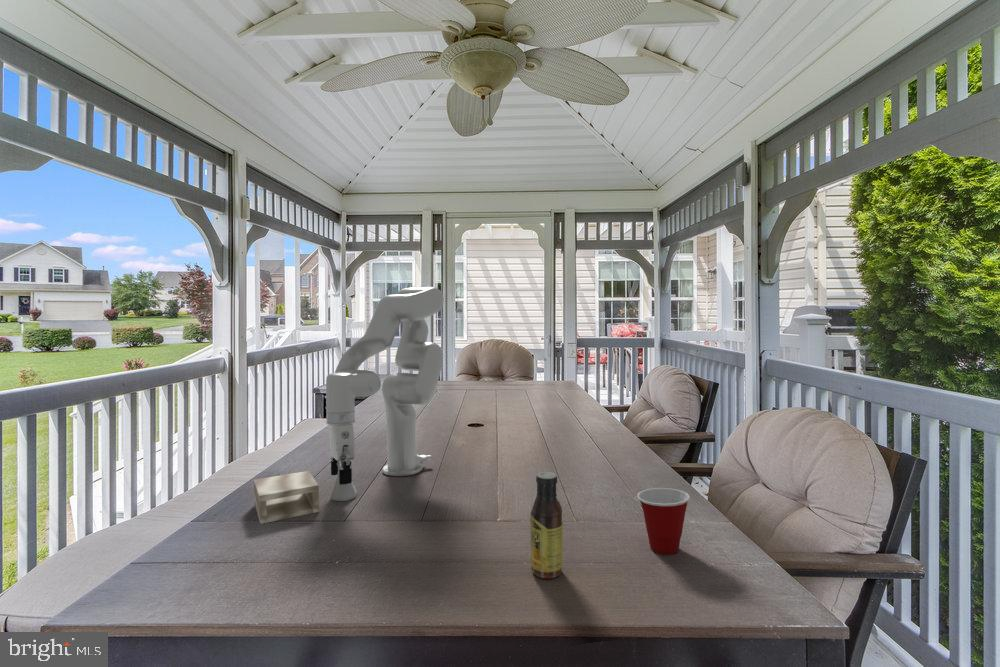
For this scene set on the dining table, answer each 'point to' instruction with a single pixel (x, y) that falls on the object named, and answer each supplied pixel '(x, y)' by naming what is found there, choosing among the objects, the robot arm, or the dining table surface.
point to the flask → (343, 490)
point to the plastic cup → (664, 517)
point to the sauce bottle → (546, 528)
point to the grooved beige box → (286, 496)
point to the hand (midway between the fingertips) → (341, 478)
